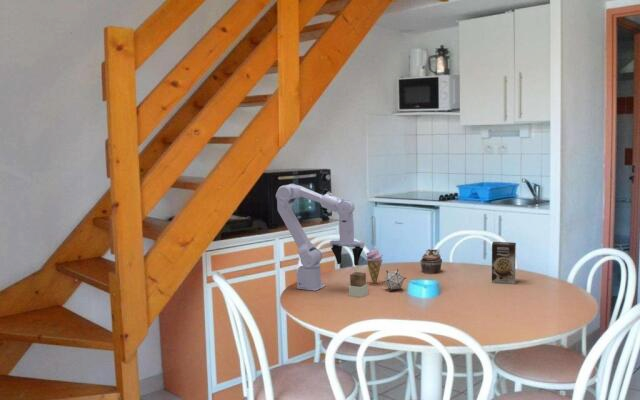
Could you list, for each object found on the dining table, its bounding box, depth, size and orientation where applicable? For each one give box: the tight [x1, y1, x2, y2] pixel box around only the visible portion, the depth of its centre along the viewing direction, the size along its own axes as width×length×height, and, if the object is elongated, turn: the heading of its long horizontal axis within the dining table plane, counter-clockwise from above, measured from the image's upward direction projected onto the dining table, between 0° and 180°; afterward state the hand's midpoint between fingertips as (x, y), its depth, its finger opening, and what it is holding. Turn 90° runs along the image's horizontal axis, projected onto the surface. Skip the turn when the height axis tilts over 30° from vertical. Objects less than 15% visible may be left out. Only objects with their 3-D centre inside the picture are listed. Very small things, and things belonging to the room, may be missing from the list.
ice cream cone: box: [366, 247, 383, 285], centre depth 240 cm, size 7×6×15 cm
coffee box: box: [491, 241, 517, 285], centre depth 236 cm, size 9×6×16 cm
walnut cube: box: [349, 271, 367, 287], centre depth 225 cm, size 4×4×4 cm
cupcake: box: [419, 248, 443, 275], centre depth 258 cm, size 10×10×10 cm
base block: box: [348, 283, 369, 298], centre depth 225 cm, size 6×6×4 cm
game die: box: [381, 268, 407, 292], centre depth 230 cm, size 9×8×10 cm
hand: (347, 264), depth 232 cm, fingers open, 7 cm apart
